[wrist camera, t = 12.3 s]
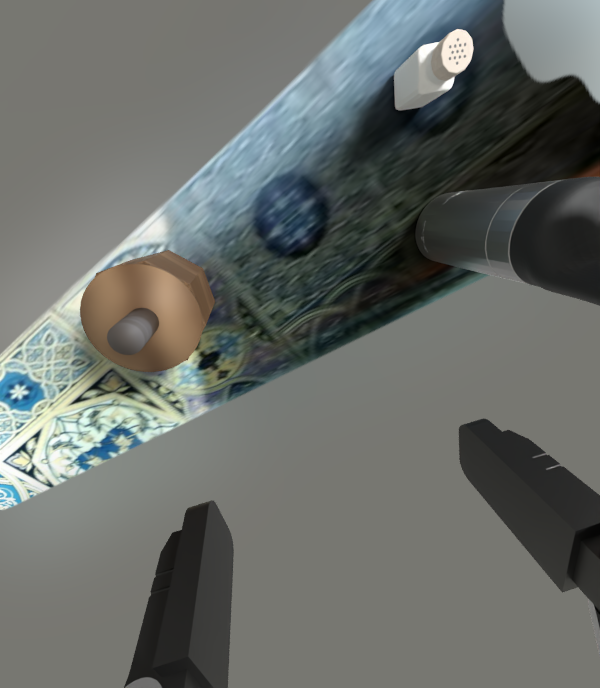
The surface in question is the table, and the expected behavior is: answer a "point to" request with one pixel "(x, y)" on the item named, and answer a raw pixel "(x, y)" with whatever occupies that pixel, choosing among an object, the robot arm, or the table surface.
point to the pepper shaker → (431, 70)
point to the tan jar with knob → (147, 311)
